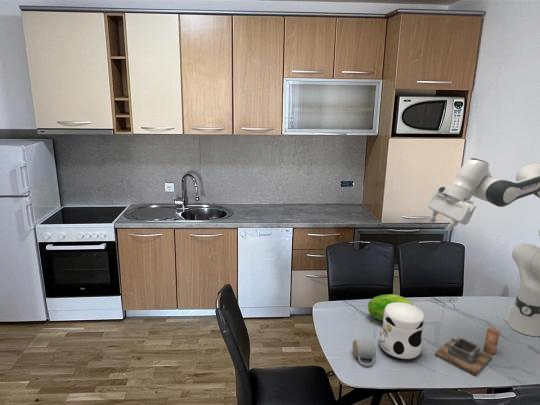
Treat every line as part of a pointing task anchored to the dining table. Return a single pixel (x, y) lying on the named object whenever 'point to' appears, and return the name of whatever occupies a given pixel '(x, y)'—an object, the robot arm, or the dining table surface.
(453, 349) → the stand
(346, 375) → the dining table surface
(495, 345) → the post
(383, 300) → the lettuce
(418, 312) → the milk container
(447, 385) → the dining table surface
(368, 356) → the ceramic mug
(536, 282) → the robot arm
